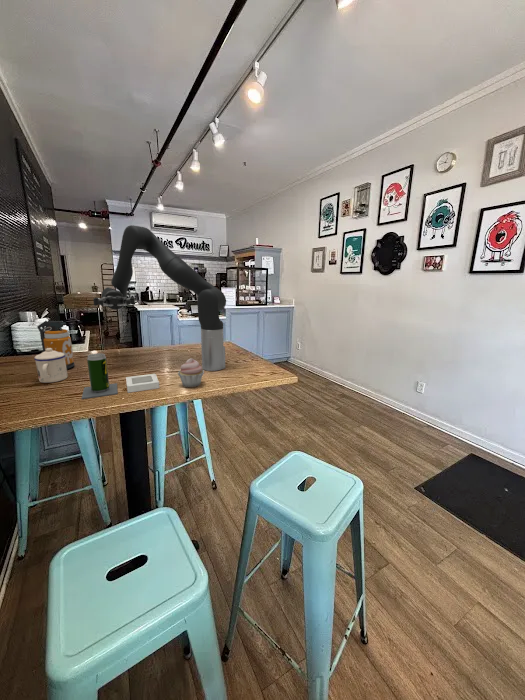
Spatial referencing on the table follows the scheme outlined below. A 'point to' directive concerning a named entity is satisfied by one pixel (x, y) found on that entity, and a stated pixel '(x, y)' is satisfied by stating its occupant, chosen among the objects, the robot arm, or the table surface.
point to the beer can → (98, 372)
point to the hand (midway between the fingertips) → (115, 302)
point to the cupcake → (191, 373)
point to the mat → (90, 394)
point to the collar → (142, 386)
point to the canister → (57, 339)
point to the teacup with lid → (51, 366)
